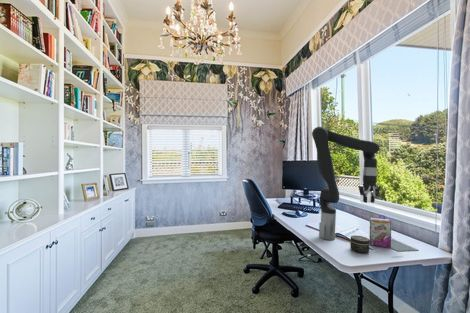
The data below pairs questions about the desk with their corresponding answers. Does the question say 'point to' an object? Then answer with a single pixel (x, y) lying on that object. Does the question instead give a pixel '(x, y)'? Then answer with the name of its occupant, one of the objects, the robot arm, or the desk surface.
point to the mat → (401, 246)
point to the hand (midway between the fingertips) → (368, 202)
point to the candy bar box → (380, 232)
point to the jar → (359, 244)
